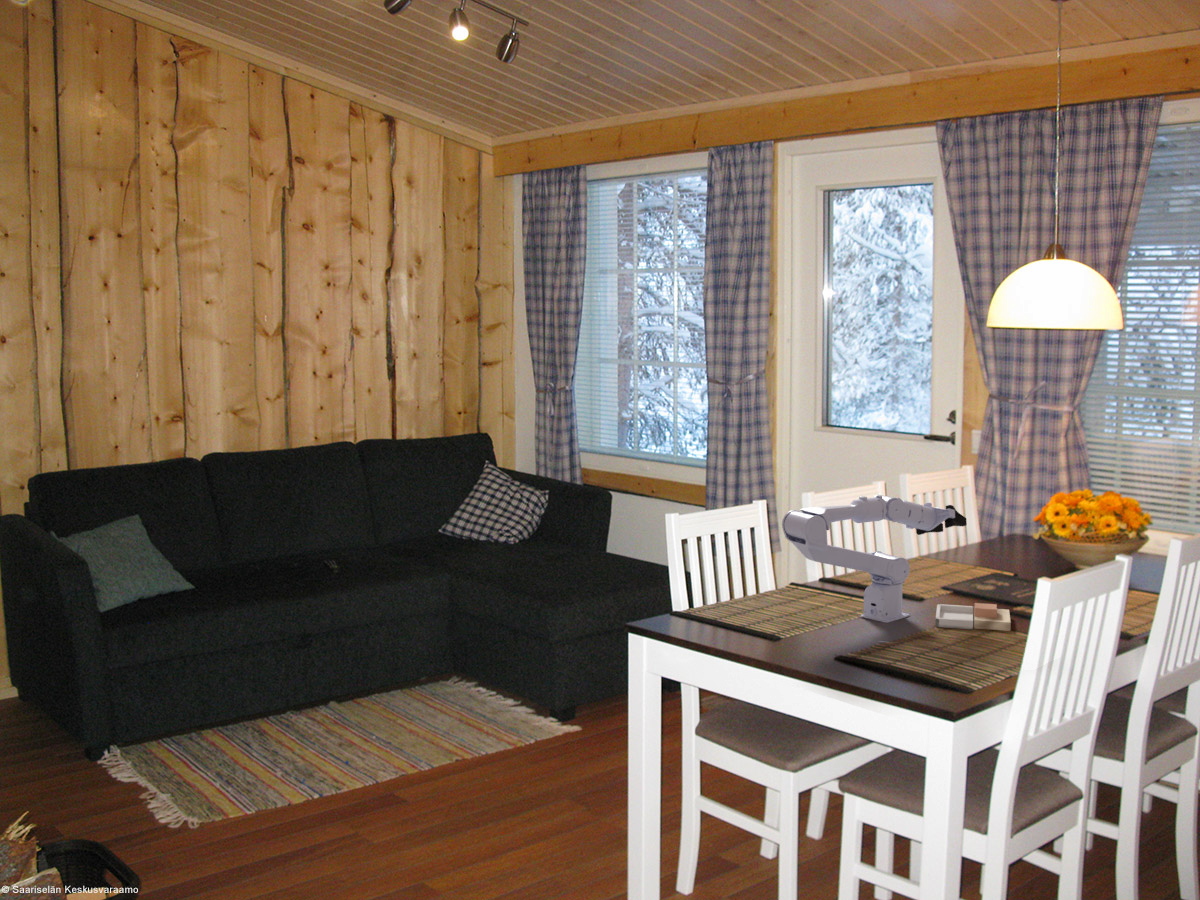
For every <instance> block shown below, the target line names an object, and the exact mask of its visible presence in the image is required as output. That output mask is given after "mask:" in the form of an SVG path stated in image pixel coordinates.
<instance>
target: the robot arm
mask: <svg viewBox="0 0 1200 900" xmlns="http://www.w3.org/2000/svg"><path fill="white" fill-rule="evenodd" d="M848 520H852V521H853V522H854V523H856V524H864V523H871V522H873V523H874V522H880V521H882V520H885V521H890V522H892V523H898V524H902V525H906V526H905V527H906V528H907V529H910V530H913V529H915V530H916V531H915V533H916V534H917V535H918V536H921V535H924V534H928V533H942V532H944V528H945V529H948V528H952V527H966V526H967V517H965V516H964V515H962V514H961V513H959V512H958V510H957V509H956V508H955V506H954V505H953V504H948V505H945V508H940V507H935V506H932V502H925V503H924V504H920V503H919V504H918V503H915V502H913V501H908V500H902V499H901V498H900V497H897V498H896V497H893V496H887V495H883V494H882V495H880V494H876V495H874V497H868V496H863V495H861V496H859V498H858V499H854V500H852V501H851V502H850V504H848V505H832V506H829V505H828V506H815V507H814V506H813V507H804V508H799V510H796V509H793V510H789V511H787V512H786V514H785V515H784V516H783V518H782V522H781V528H782V532H783V534H784V538H785V539H786V540H787V541H789V542H790V543H792V544H793V546H794V547H795V548H796V549H797V550H798V551H799V552H800V553H801V554H802V555H803V557H804V558H806V559H807V560H809V561H813V562H816V563H820V564H825V565H830V566H836V567H840V568H846V569H851V570H855V571H860V572H865V573H868V574H869V575H870V580H872V581H871V583H870V585H868V586H866V588H865V590H864V592H863V614H860V617H861V618H864V619H868V620H873V621H878V622H881V623H885V624H888V623H891V622H895V621H898V620H901V619H904V618H907V617H910V614H909V613H905V612H903V584H904V583H905V581H906V580H907V578H908V577H909V575H910V571H911V566H910V563H909V561H908V559H906V558H905V557H903V556H902V557H900V556H894V555H891V554H888V553H884V552H882V551H879V550H875V551H872V552H867V551H866V552H864V551H858V550H854V549H851V548H845V547H841V546H840V547H839V546H836V545H835V546H834V545H831V544H828V531H830V529H831V523H835V522H841V521H848ZM943 522H944V523H943Z"/></svg>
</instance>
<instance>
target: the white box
mask: <svg viewBox="0 0 1200 900" xmlns="http://www.w3.org/2000/svg"><path fill="white" fill-rule="evenodd" d="M974 610H975V606H973V629H978V630H979V629H980V630H994V631H1006V632H1007V631H1008V632H1011V629H1012V628H1011V627H1012V626H1011V623H1012V621H1011V615H1010V614H1011V613H1010V609H1004V608H997V618H992V617H977V616H975V612H974Z"/></svg>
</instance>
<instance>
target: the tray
mask: <svg viewBox="0 0 1200 900" xmlns="http://www.w3.org/2000/svg"><path fill="white" fill-rule="evenodd" d="M935 627H936V628H949V629H963V630H974V605H973V606H972V605H957V604H944V603H942V604H941V603H937V604H936V612H935Z"/></svg>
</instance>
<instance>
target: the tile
mask: <svg viewBox="0 0 1200 900" xmlns="http://www.w3.org/2000/svg"><path fill="white" fill-rule="evenodd" d="M997 606H998V605H997V603H995V604H994V603H979V602H974V607H975V610H974V609H973V613H974V612H975V616H977V617H992V618H997V609H998V608H997Z"/></svg>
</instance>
